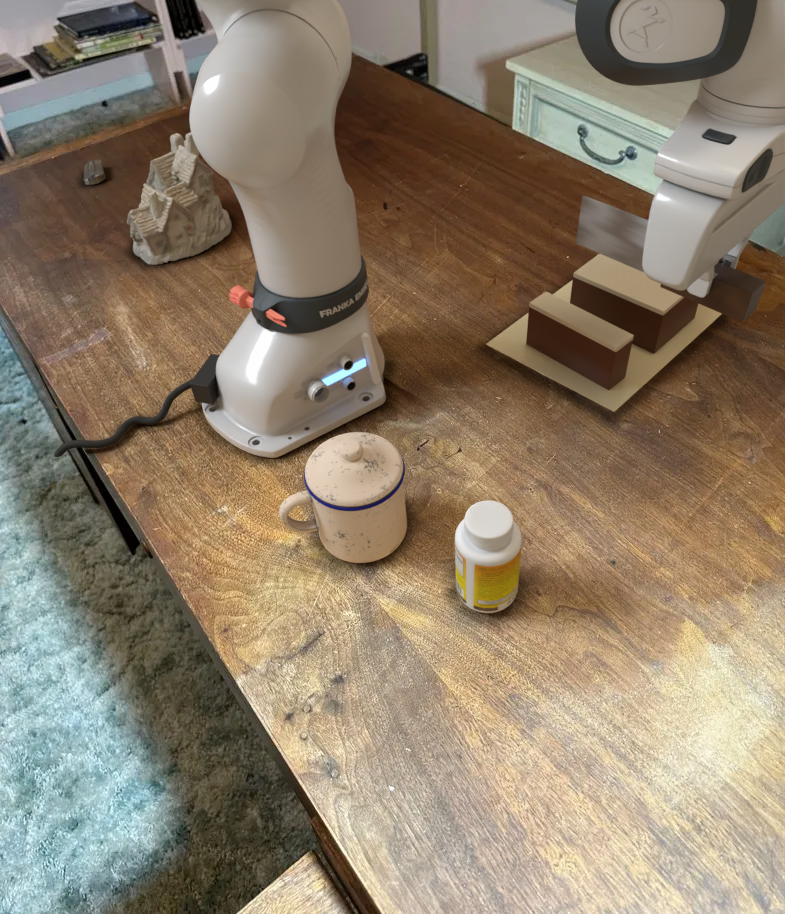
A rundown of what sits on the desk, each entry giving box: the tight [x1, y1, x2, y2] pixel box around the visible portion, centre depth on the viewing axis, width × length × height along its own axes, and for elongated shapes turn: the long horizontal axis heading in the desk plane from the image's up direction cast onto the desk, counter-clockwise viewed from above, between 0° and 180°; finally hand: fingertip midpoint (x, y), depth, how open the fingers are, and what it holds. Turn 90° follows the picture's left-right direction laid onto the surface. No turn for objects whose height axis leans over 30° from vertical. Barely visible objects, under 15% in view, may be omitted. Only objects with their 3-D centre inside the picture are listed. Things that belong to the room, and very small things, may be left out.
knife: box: [575, 195, 766, 323], centre depth 69 cm, size 18×2×5 cm, turn 45°
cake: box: [570, 253, 698, 354], centre depth 91 cm, size 9×12×6 cm
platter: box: [485, 279, 723, 413], centre depth 92 cm, size 23×18×1 cm
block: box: [83, 159, 107, 186], centre depth 130 cm, size 4×6×2 cm, turn 19°
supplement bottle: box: [454, 499, 523, 614], centre depth 65 cm, size 6×6×10 cm
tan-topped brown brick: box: [526, 291, 634, 390], centre depth 86 cm, size 3×12×6 cm, turn 42°
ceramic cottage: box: [126, 131, 232, 266], centre depth 111 cm, size 16×16×15 cm
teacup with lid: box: [278, 431, 408, 564], centre depth 70 cm, size 12×9×12 cm
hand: (710, 282), depth 67 cm, fingers closed on knife, 2 cm apart
